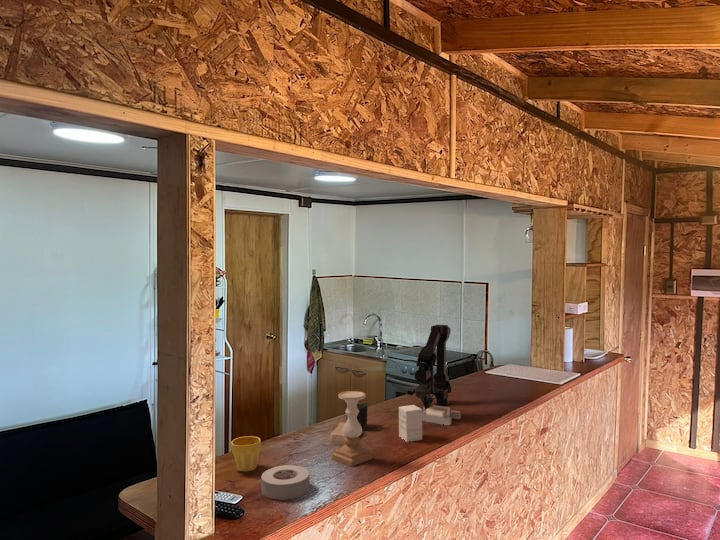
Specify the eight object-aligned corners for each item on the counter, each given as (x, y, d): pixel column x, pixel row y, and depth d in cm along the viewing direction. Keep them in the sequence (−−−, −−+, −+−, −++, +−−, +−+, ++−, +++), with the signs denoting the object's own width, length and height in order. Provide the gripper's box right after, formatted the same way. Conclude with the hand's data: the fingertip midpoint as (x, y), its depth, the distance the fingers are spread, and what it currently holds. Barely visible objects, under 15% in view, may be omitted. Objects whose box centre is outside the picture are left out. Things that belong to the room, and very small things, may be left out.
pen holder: (353, 432, 231) (353, 409, 231) (341, 427, 239) (341, 404, 239) (371, 428, 236) (371, 405, 236) (359, 423, 244) (359, 400, 244)
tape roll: (275, 504, 166) (275, 488, 165) (253, 487, 178) (253, 472, 178) (318, 491, 175) (318, 476, 174) (295, 476, 187) (294, 461, 187)
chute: (424, 412, 260) (424, 406, 260) (460, 418, 251) (460, 411, 251) (412, 419, 250) (412, 412, 250) (449, 425, 240) (449, 418, 240)
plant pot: (225, 468, 194) (225, 440, 193) (250, 460, 201) (250, 433, 201) (241, 476, 186) (241, 447, 186) (267, 468, 194) (266, 440, 193)
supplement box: (414, 434, 229) (414, 404, 228) (422, 440, 222) (422, 409, 221) (398, 436, 226) (398, 406, 226) (406, 442, 219) (406, 411, 219)
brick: (349, 446, 215) (349, 435, 215) (329, 445, 217) (329, 433, 217) (359, 433, 231) (359, 422, 231) (340, 432, 233) (340, 421, 233)
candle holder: (373, 458, 202) (373, 394, 201) (351, 466, 194) (351, 399, 194) (352, 451, 210) (352, 389, 209) (331, 458, 202) (330, 394, 201)
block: (433, 415, 255) (433, 405, 255) (449, 418, 251) (449, 407, 251) (426, 420, 249) (426, 409, 248) (442, 423, 244) (442, 411, 244)
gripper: (401, 378, 251) (400, 412, 251) (438, 384, 240) (438, 419, 241) (412, 374, 260) (412, 406, 260) (448, 379, 250) (448, 413, 250)
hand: (427, 411), depth 253 cm, fingers closed
